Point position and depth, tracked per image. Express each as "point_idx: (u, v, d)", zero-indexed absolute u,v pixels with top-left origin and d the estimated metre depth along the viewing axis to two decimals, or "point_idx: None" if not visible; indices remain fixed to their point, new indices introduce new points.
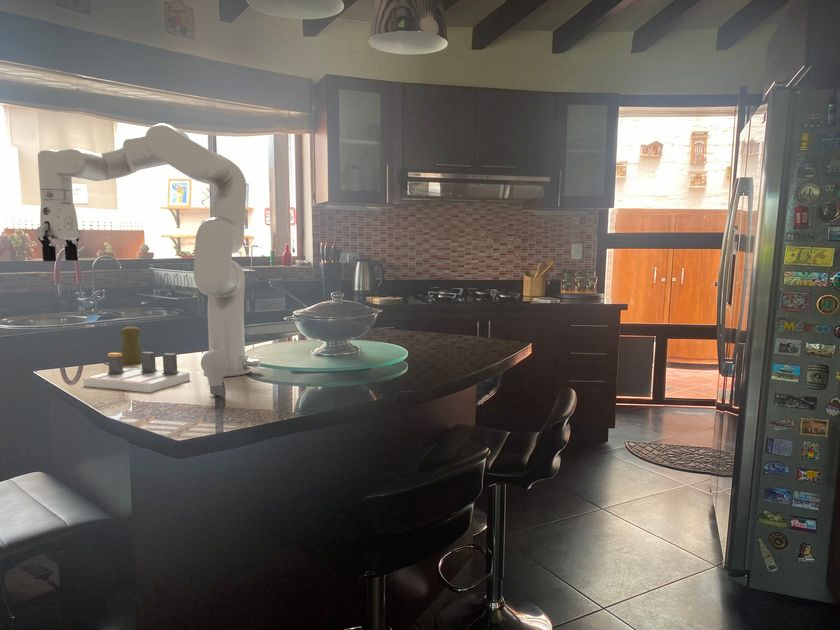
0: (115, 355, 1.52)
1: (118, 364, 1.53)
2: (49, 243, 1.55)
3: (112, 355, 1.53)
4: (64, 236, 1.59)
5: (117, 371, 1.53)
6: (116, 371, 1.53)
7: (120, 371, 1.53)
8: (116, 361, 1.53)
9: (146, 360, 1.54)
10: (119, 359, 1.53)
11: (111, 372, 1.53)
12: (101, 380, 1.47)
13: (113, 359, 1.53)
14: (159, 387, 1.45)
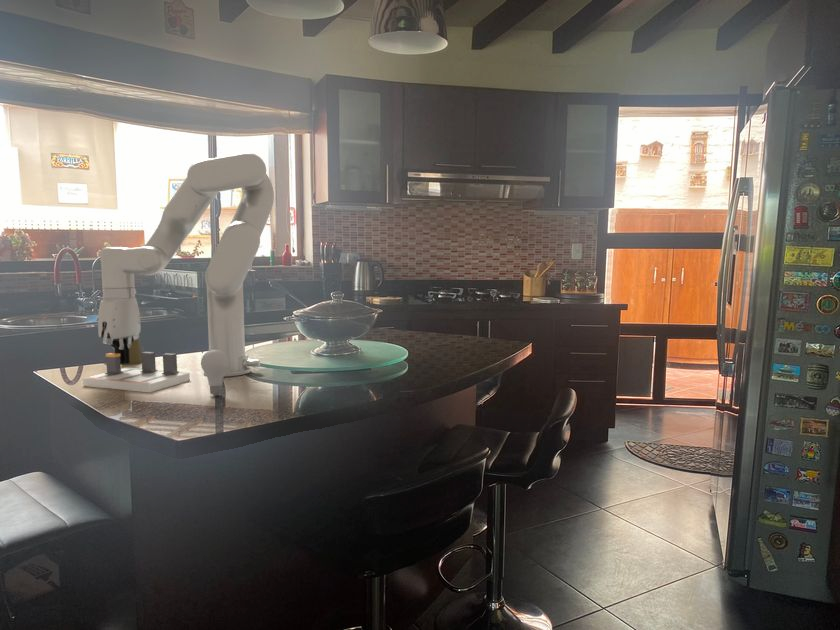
0: (113, 355, 1.52)
1: (116, 365, 1.52)
2: None
3: (110, 355, 1.52)
4: None
5: (115, 372, 1.52)
6: (114, 372, 1.52)
7: (118, 371, 1.53)
8: (114, 361, 1.52)
9: (146, 360, 1.54)
10: (117, 359, 1.52)
11: (109, 373, 1.52)
12: (101, 380, 1.47)
13: (111, 359, 1.52)
14: (159, 387, 1.45)
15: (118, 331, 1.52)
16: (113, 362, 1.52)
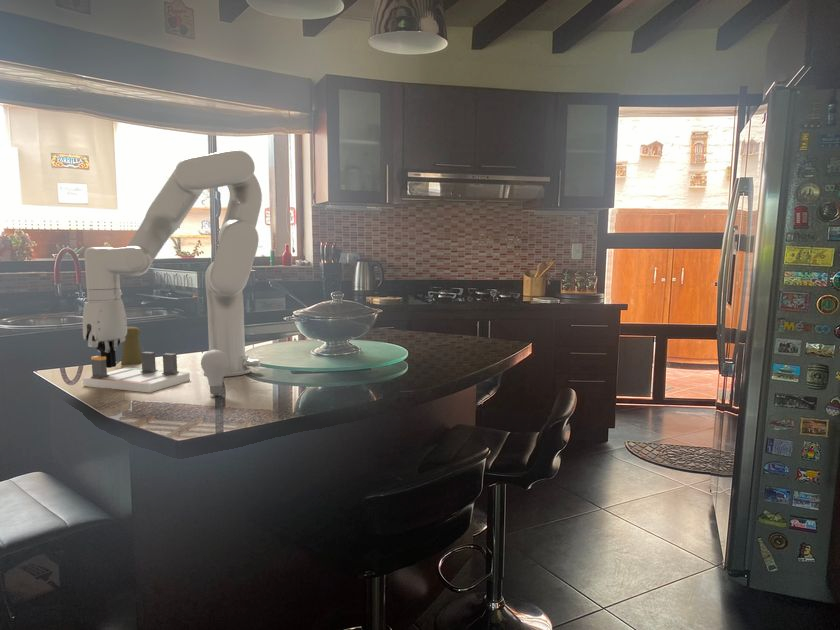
0: (99, 358, 1.48)
1: (102, 368, 1.48)
2: None
3: (96, 358, 1.48)
4: None
5: (101, 375, 1.48)
6: (100, 375, 1.48)
7: (104, 375, 1.49)
8: (100, 365, 1.48)
9: (146, 360, 1.54)
10: (103, 363, 1.48)
11: (95, 376, 1.48)
12: (101, 380, 1.47)
13: (97, 363, 1.48)
14: (159, 387, 1.45)
15: (103, 334, 1.47)
16: (99, 365, 1.48)
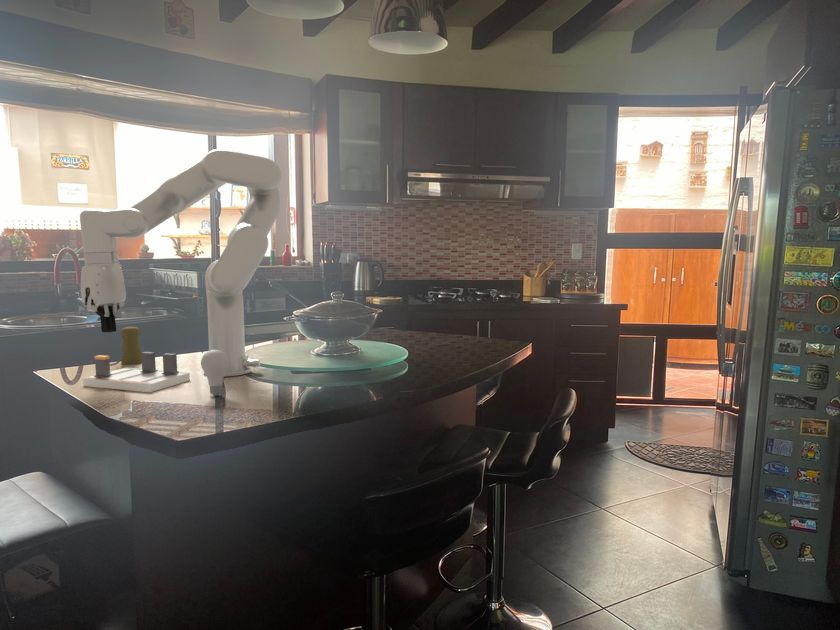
0: (102, 358, 1.49)
1: (105, 367, 1.49)
2: None
3: (99, 358, 1.49)
4: None
5: (104, 374, 1.49)
6: (103, 374, 1.49)
7: (107, 374, 1.50)
8: (103, 364, 1.49)
9: (146, 360, 1.54)
10: (106, 362, 1.49)
11: (98, 375, 1.49)
12: (101, 380, 1.47)
13: (100, 362, 1.49)
14: (159, 387, 1.45)
15: (102, 297, 1.46)
16: (102, 364, 1.49)
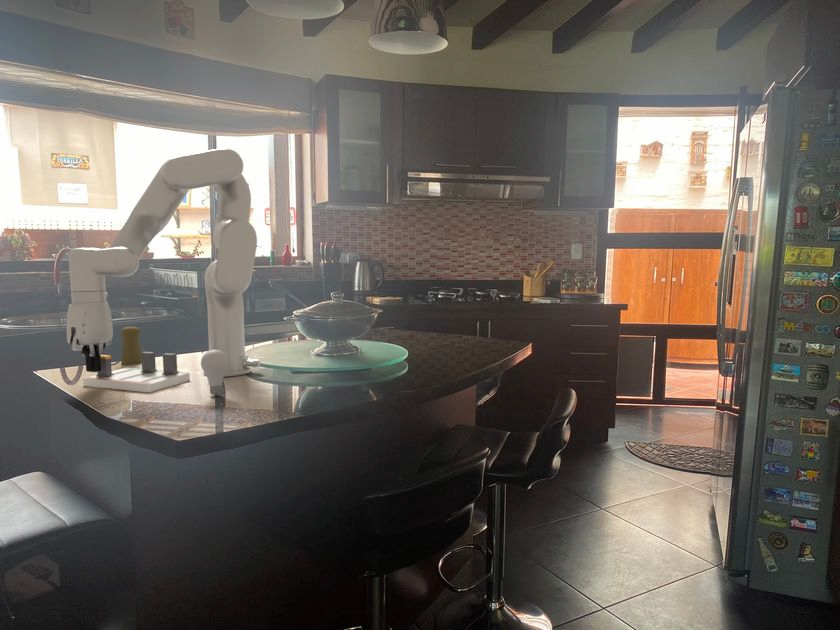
0: (104, 357, 1.49)
1: (107, 367, 1.50)
2: None
3: (101, 357, 1.49)
4: None
5: (106, 374, 1.50)
6: (105, 374, 1.50)
7: (109, 374, 1.50)
8: (105, 364, 1.49)
9: (146, 360, 1.54)
10: (108, 361, 1.50)
11: (100, 375, 1.50)
12: (101, 380, 1.47)
13: (102, 362, 1.49)
14: (159, 387, 1.45)
15: (88, 337, 1.43)
16: (104, 364, 1.49)
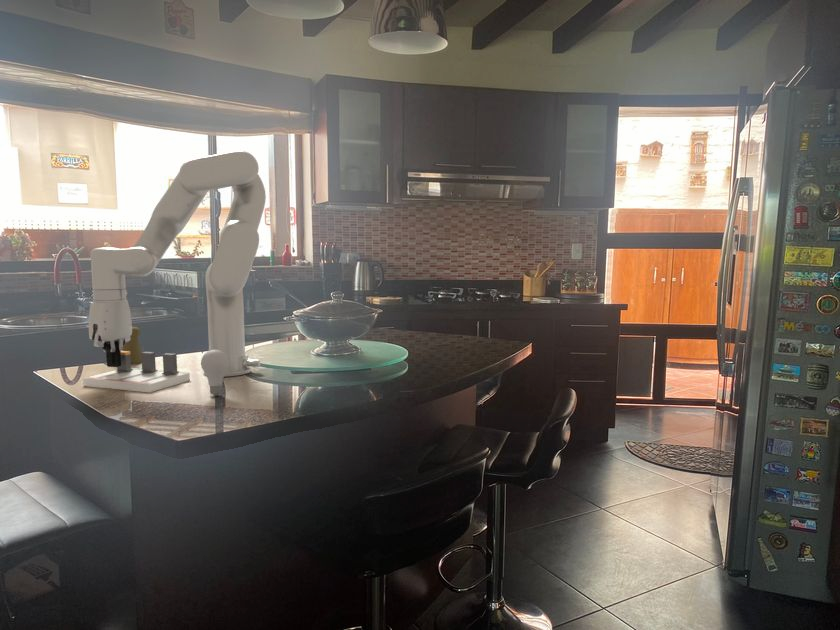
0: (123, 353, 1.55)
1: (126, 362, 1.55)
2: None
3: None
4: None
5: (125, 369, 1.55)
6: (124, 369, 1.55)
7: (128, 369, 1.56)
8: (124, 359, 1.55)
9: (146, 360, 1.54)
10: (127, 357, 1.56)
11: (119, 370, 1.56)
12: (101, 380, 1.47)
13: (121, 357, 1.55)
14: (159, 387, 1.45)
15: (109, 333, 1.49)
16: (123, 360, 1.55)
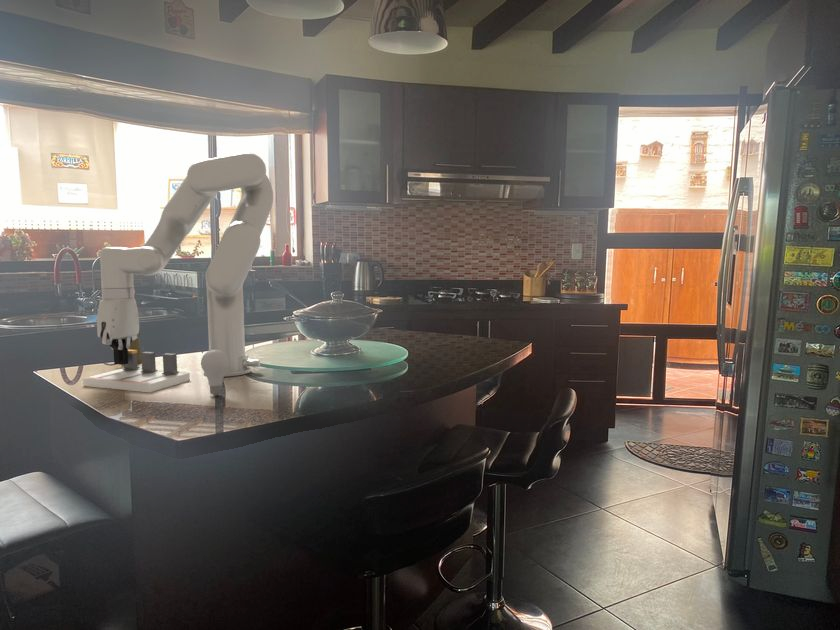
0: (130, 352, 1.57)
1: (133, 361, 1.58)
2: None
3: None
4: None
5: (132, 367, 1.58)
6: (131, 367, 1.58)
7: (135, 367, 1.58)
8: (131, 358, 1.57)
9: (146, 360, 1.54)
10: (134, 356, 1.58)
11: (126, 368, 1.58)
12: (101, 380, 1.47)
13: (128, 356, 1.57)
14: (159, 387, 1.45)
15: (117, 331, 1.51)
16: (130, 358, 1.57)
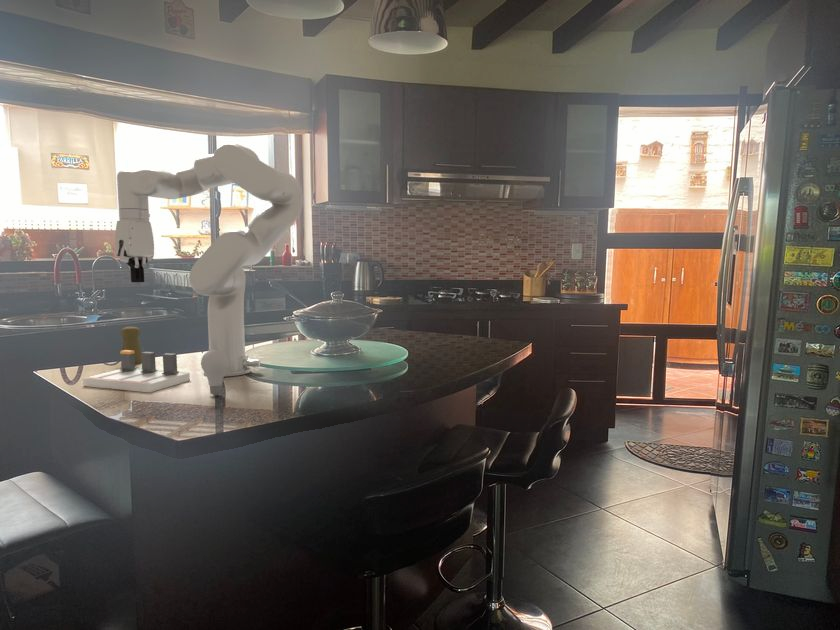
0: (127, 352, 1.56)
1: (130, 361, 1.57)
2: None
3: (124, 352, 1.57)
4: None
5: (129, 368, 1.57)
6: (128, 368, 1.57)
7: (132, 368, 1.57)
8: (128, 358, 1.56)
9: (146, 360, 1.54)
10: (131, 356, 1.57)
11: (123, 369, 1.57)
12: (101, 380, 1.47)
13: (125, 356, 1.57)
14: (159, 387, 1.45)
15: (134, 249, 1.62)
16: (127, 359, 1.56)
